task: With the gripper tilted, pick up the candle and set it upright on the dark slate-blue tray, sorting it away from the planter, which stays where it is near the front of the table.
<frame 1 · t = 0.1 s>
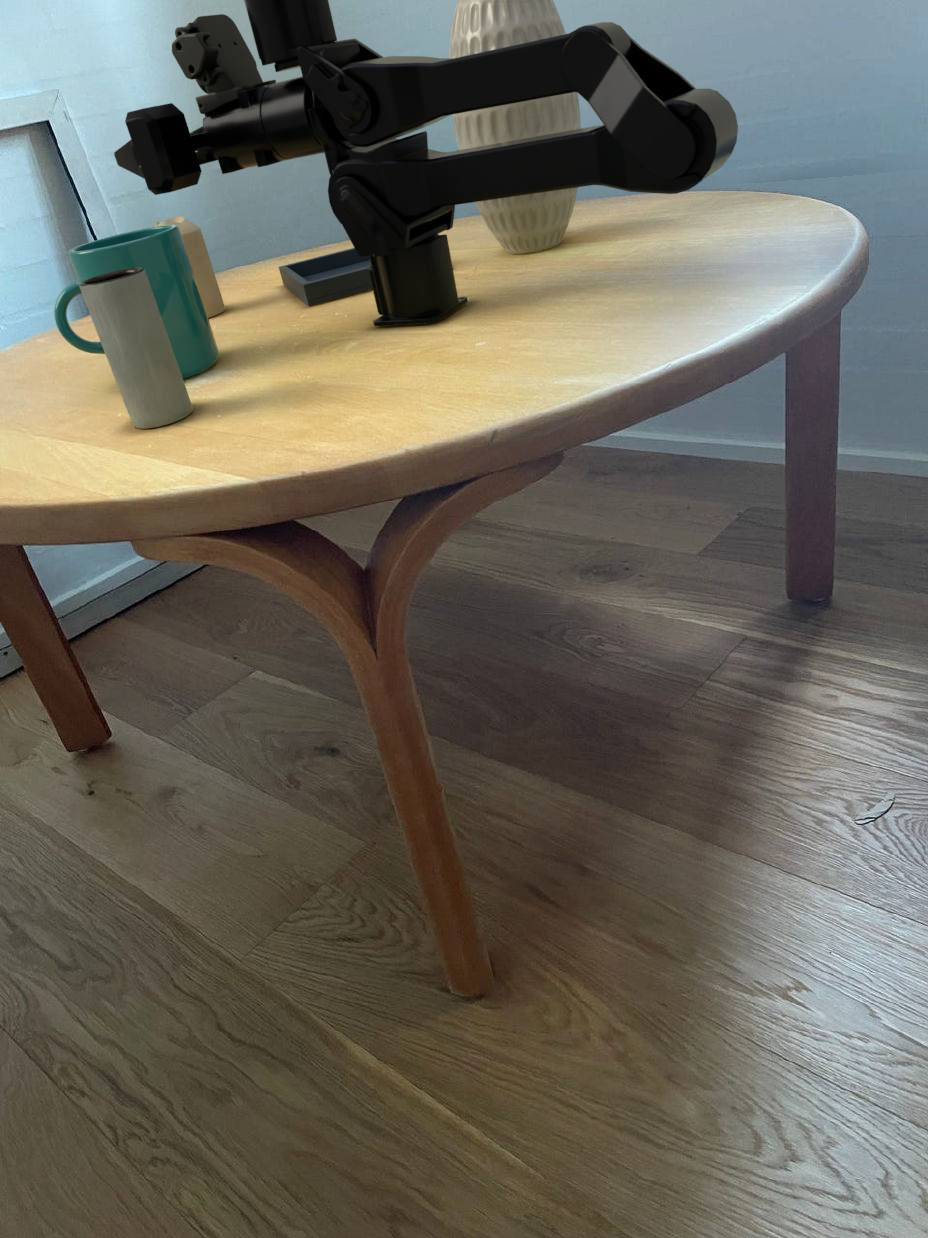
hand: (153, 150, 85), 17 cm above the table, tool horizontal, fingers open, 9 cm apart
tray: (358, 279, 102), on the table
planter: (164, 420, 68), on the table
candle: (201, 317, 101), on the table
cup: (155, 378, 80), on the table
vase: (534, 248, 99), on the table
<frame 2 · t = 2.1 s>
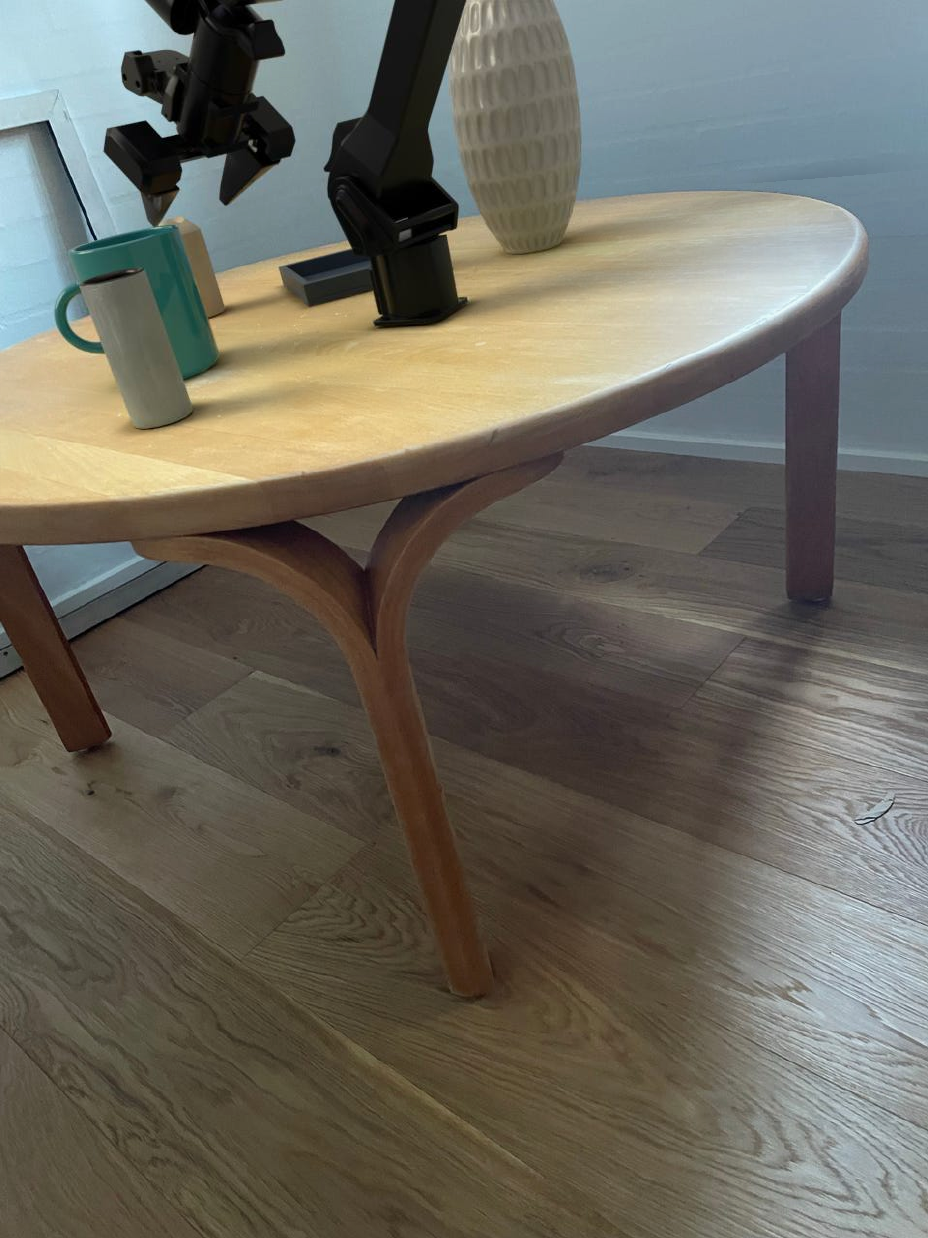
hand: (188, 212, 93), 10 cm above the table, tool tilted 45°, fingers open, 9 cm apart
nothing on the table moved.
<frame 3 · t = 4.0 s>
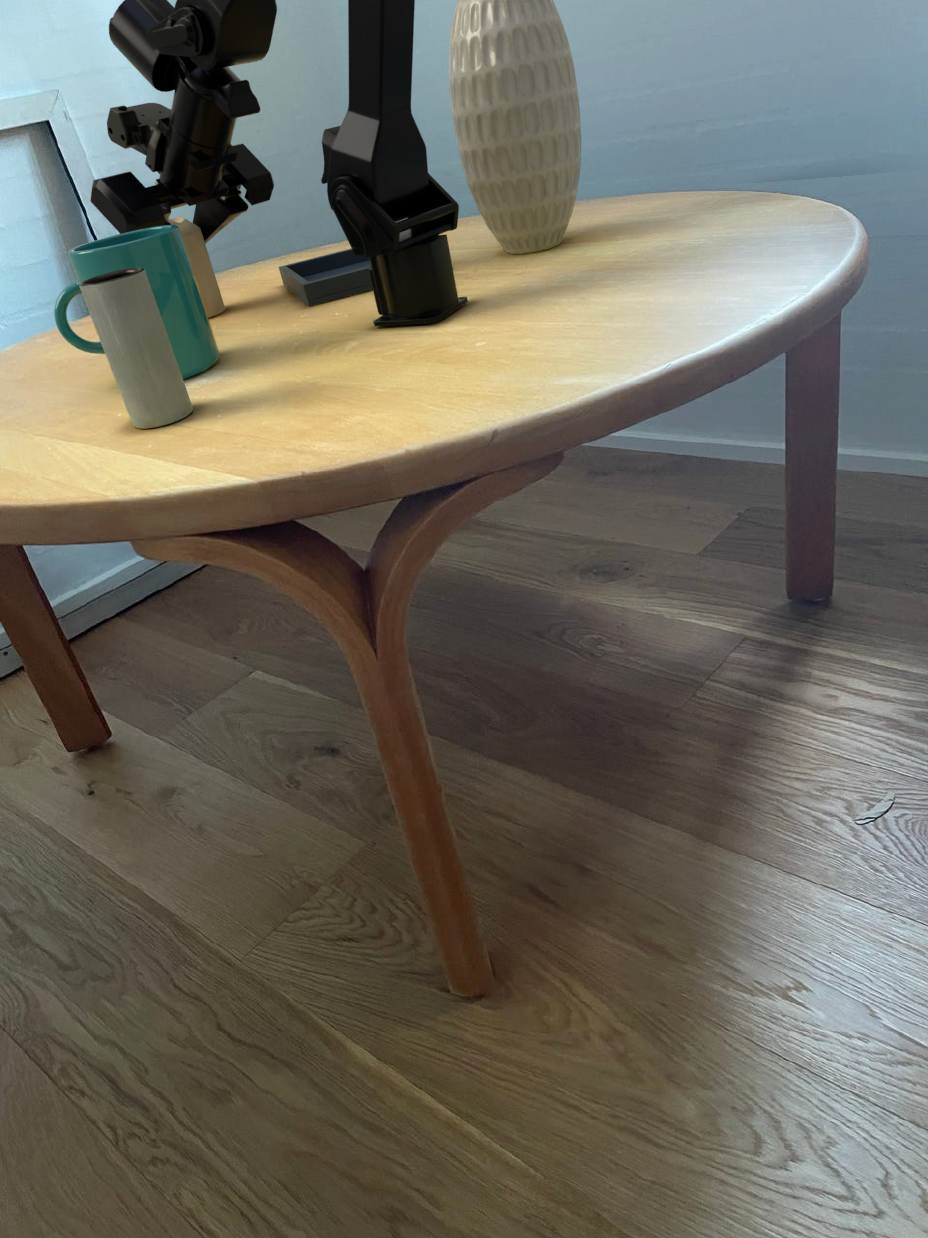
hand: (173, 253, 98), 7 cm above the table, tool tilted 45°, fingers closed on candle, 5 cm apart
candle: (201, 317, 101), on the table, touching gripper
everything else where it was.
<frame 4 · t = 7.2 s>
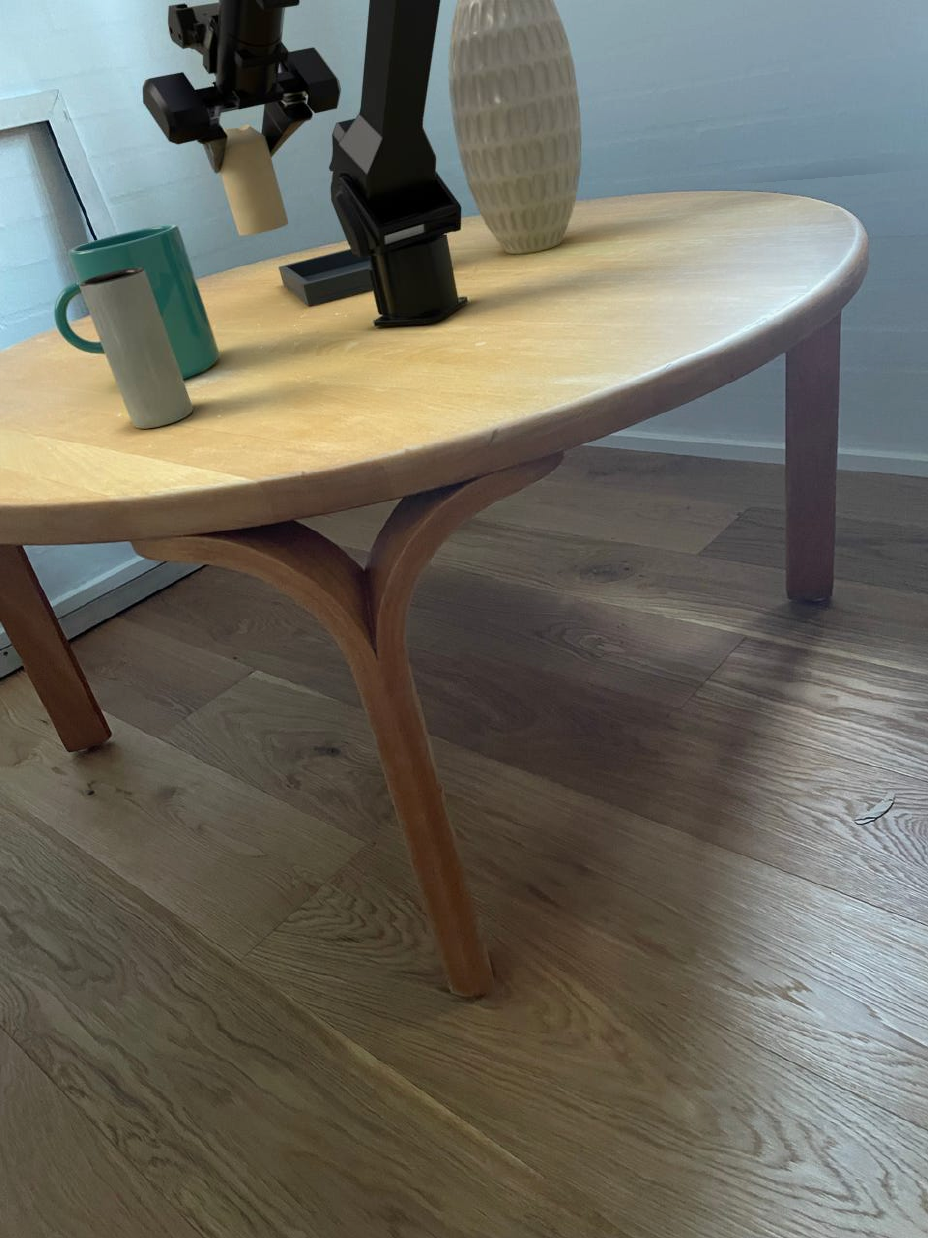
hand: (240, 163, 96), 13 cm above the table, tool tilted 45°, fingers closed on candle, 5 cm apart
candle: (264, 231, 99), point 7 cm above the table, touching gripper
everything else where it was.
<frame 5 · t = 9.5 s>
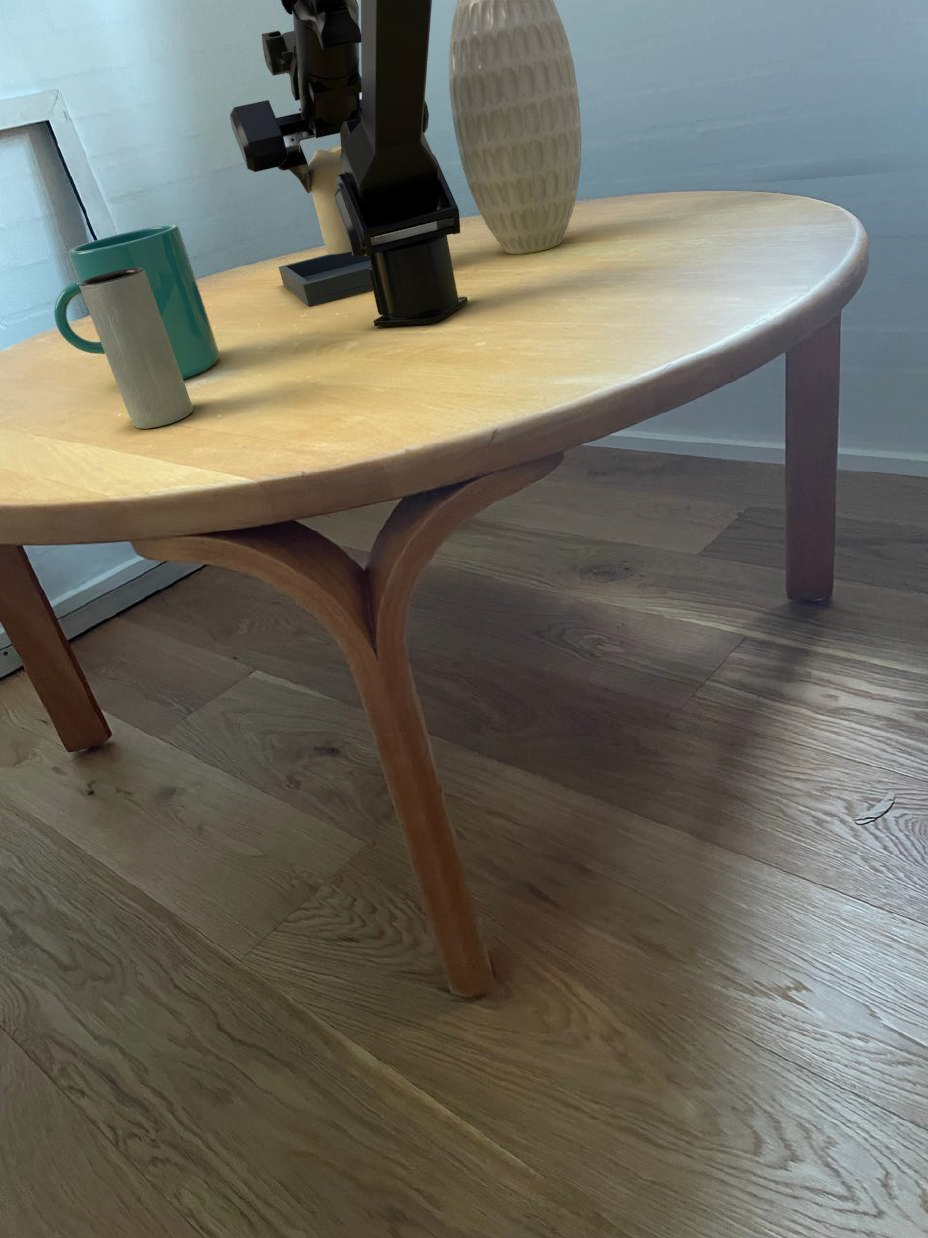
hand: (333, 183, 98), 10 cm above the table, tool tilted 45°, fingers closed on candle, 5 cm apart
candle: (352, 250, 100), point 3 cm above the table, touching gripper
everything else where it was.
when the fingers open (7 cm above the table, at t = 10.8 s): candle stays where it is, resting on tray.
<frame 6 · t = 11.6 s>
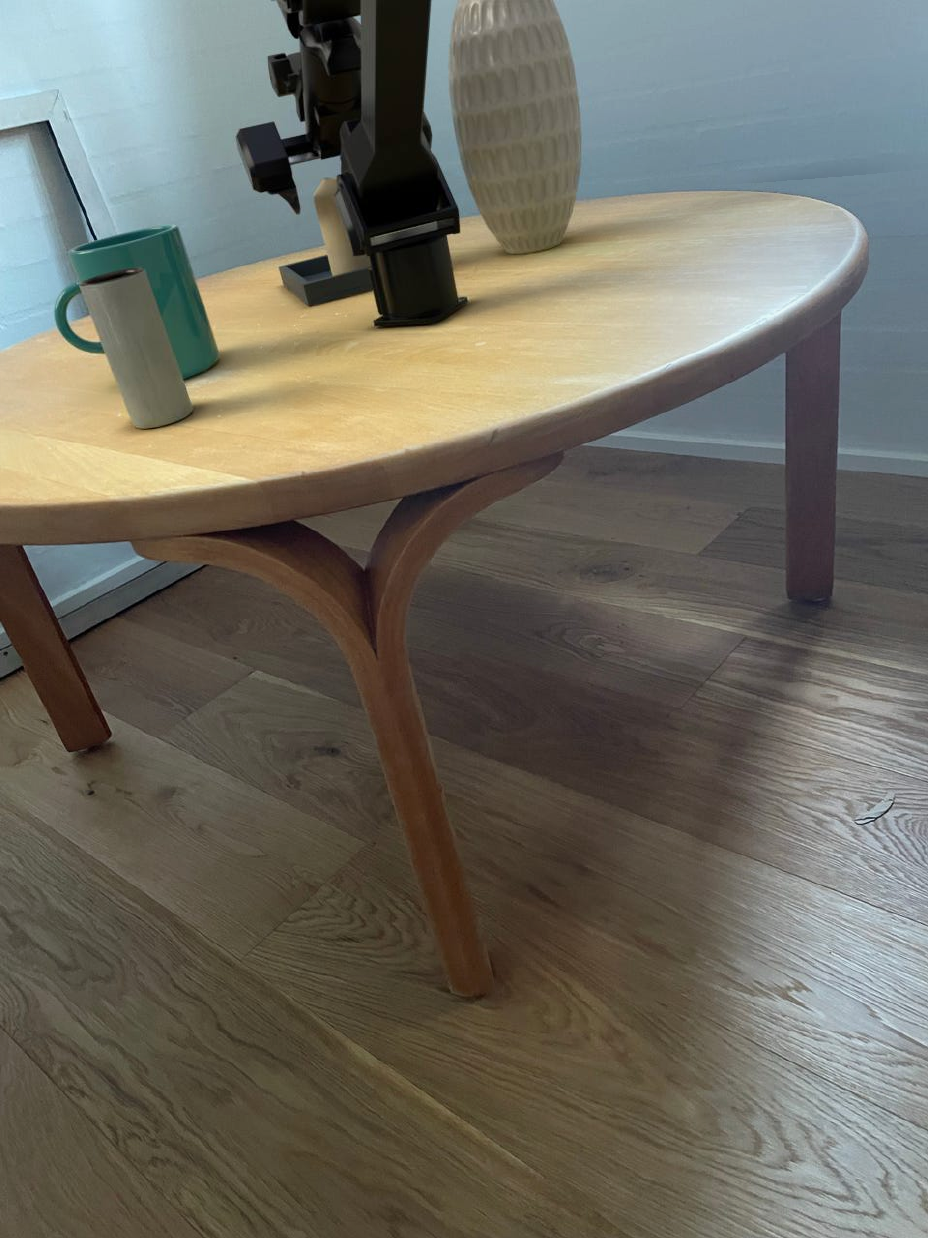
hand: (337, 200, 99), 8 cm above the table, tool tilted 45°, fingers open, 9 cm apart
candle: (358, 275, 101), resting on tray
everything else where it was.
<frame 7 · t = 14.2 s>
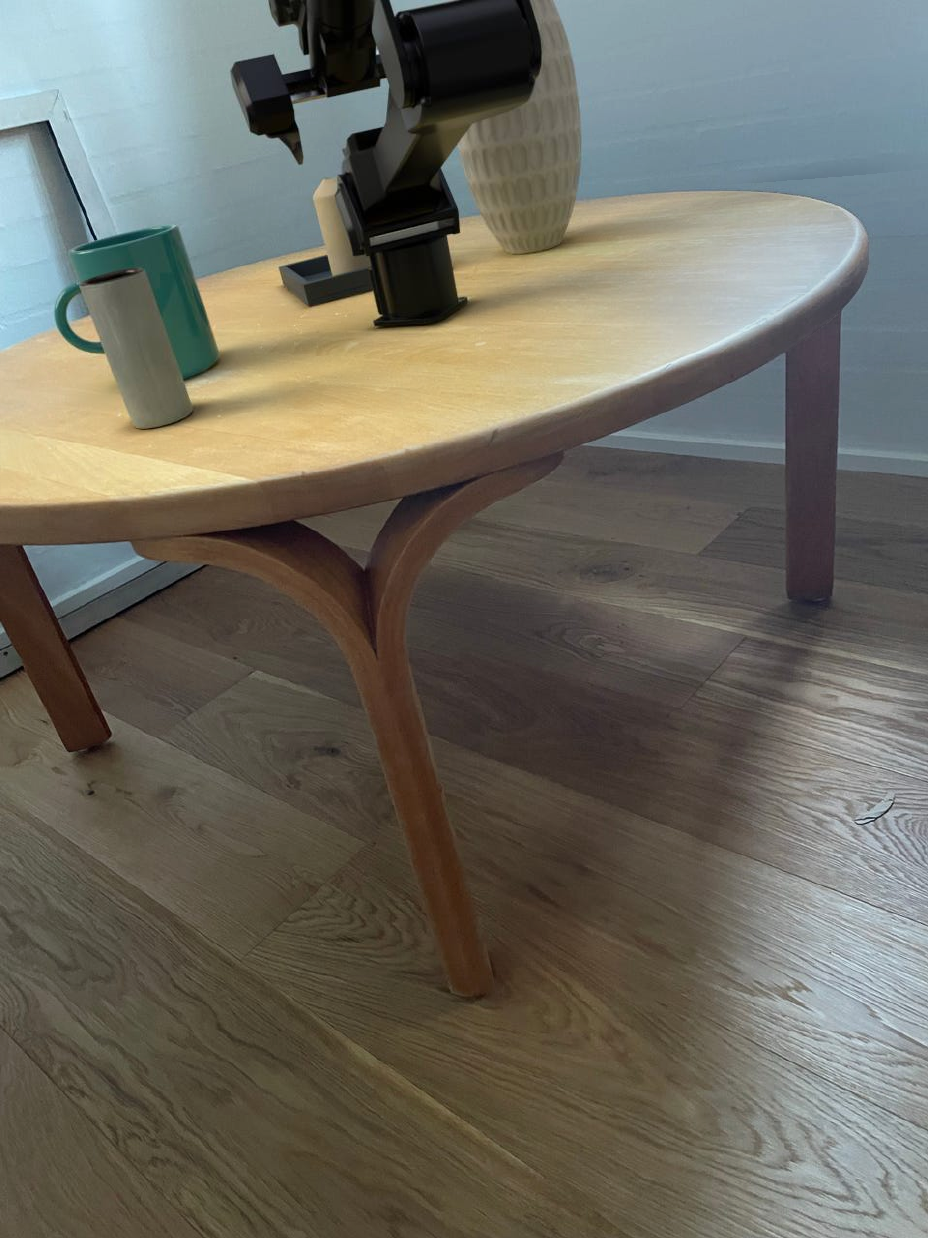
hand: (344, 150, 88), 13 cm above the table, tool tilted 45°, fingers open, 9 cm apart
nothing on the table moved.
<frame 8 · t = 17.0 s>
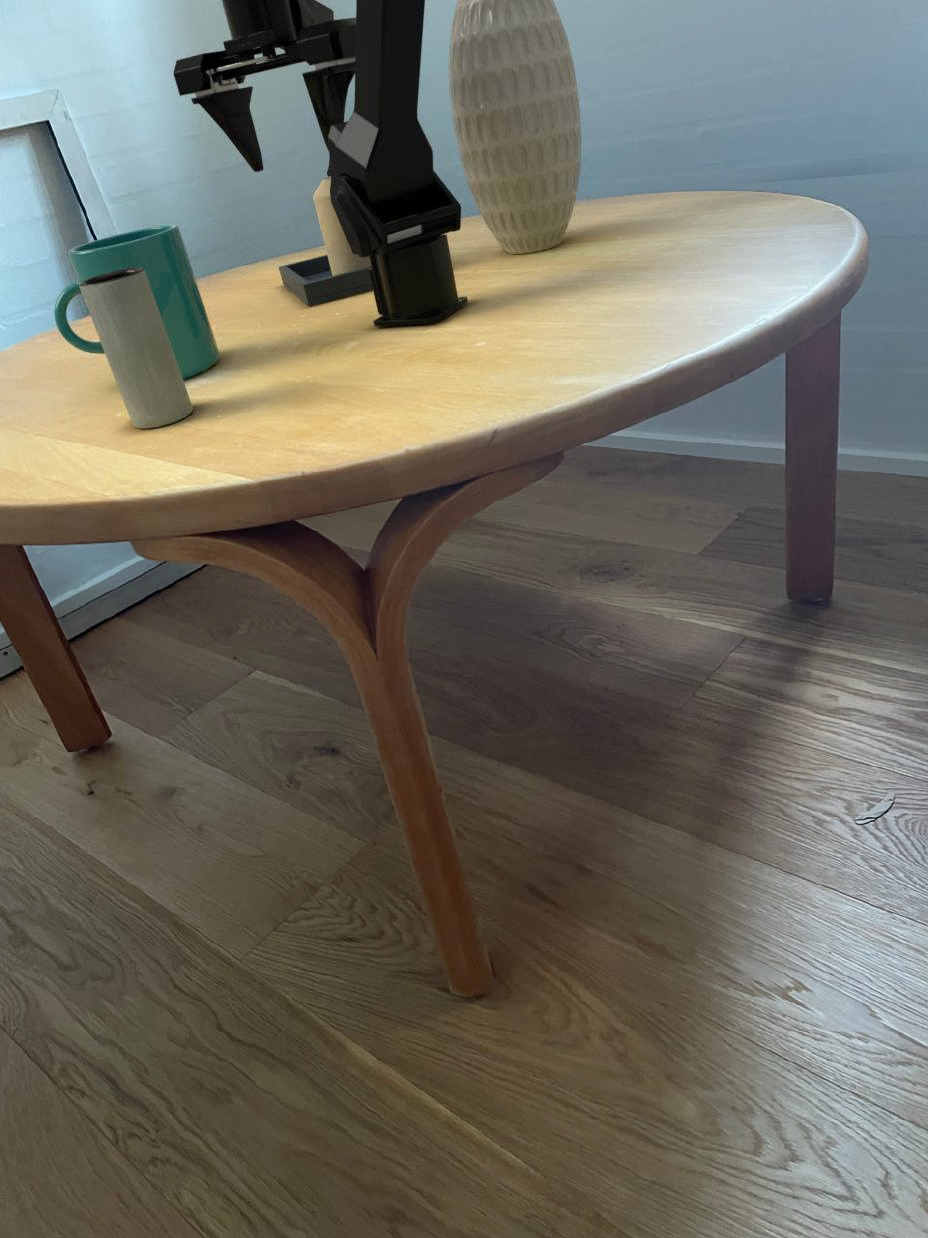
hand: (297, 164, 85), 13 cm above the table, tool pointing down, fingers open, 9 cm apart
nothing on the table moved.
at the end: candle inside the target area in the tray (0.1 cm from its centre), point 0.4 cm above the tray's base; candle tilted 0°; planter moved 0.2 cm from its start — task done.
